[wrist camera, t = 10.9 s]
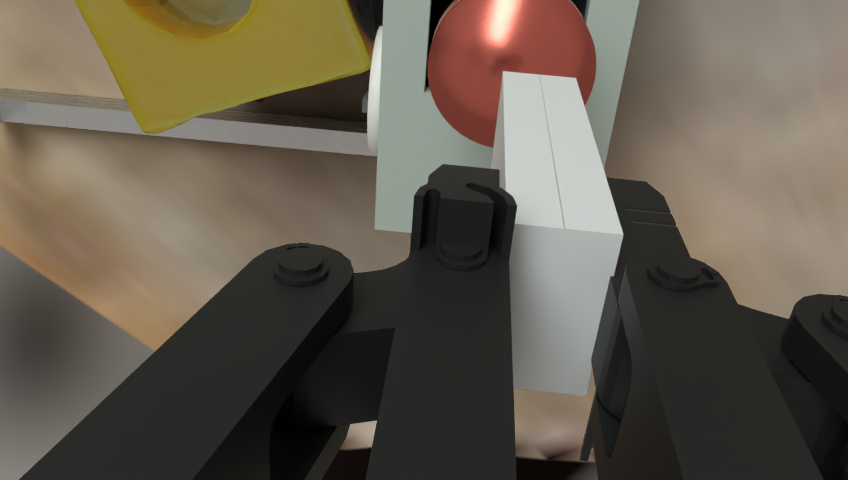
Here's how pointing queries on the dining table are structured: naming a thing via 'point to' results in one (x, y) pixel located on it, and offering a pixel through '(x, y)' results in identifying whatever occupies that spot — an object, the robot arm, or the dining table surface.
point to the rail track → (187, 123)
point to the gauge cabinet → (428, 130)
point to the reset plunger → (503, 56)
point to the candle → (226, 50)
